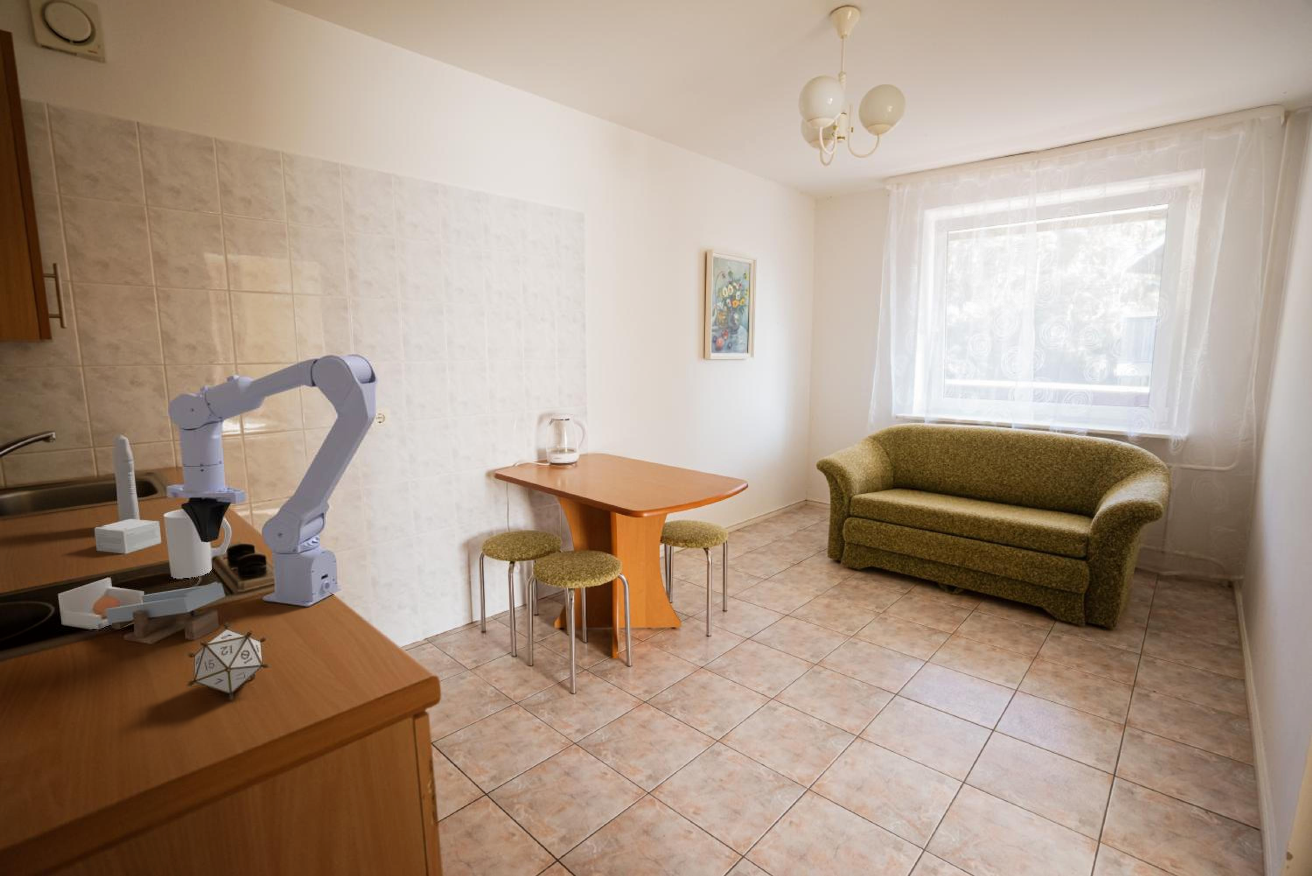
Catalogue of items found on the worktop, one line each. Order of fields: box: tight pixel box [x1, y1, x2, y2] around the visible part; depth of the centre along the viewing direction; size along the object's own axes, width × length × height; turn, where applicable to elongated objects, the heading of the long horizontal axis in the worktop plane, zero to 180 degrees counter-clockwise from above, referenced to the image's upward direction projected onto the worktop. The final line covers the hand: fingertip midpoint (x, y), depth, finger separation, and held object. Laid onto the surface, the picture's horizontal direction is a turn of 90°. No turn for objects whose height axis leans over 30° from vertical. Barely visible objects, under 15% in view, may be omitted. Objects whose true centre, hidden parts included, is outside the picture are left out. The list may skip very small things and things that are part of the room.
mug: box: [163, 508, 232, 580], centre depth 116 cm, size 10×7×12 cm, turn 128°
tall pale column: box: [112, 434, 141, 522], centre depth 141 cm, size 11×4×22 cm, turn 53°
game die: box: [186, 622, 270, 702], centre depth 78 cm, size 9×8×10 cm
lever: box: [105, 581, 226, 624], centre depth 95 cm, size 16×10×3 cm, turn 77°
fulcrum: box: [111, 607, 220, 645], centre depth 94 cm, size 15×9×4 cm, turn 77°
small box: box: [93, 519, 162, 555], centre depth 130 cm, size 8×8×5 cm
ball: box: [93, 596, 120, 617], centre depth 96 cm, size 3×3×3 cm
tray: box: [57, 577, 145, 630], centre depth 97 cm, size 7×7×5 cm
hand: (209, 540), depth 105 cm, fingers closed
